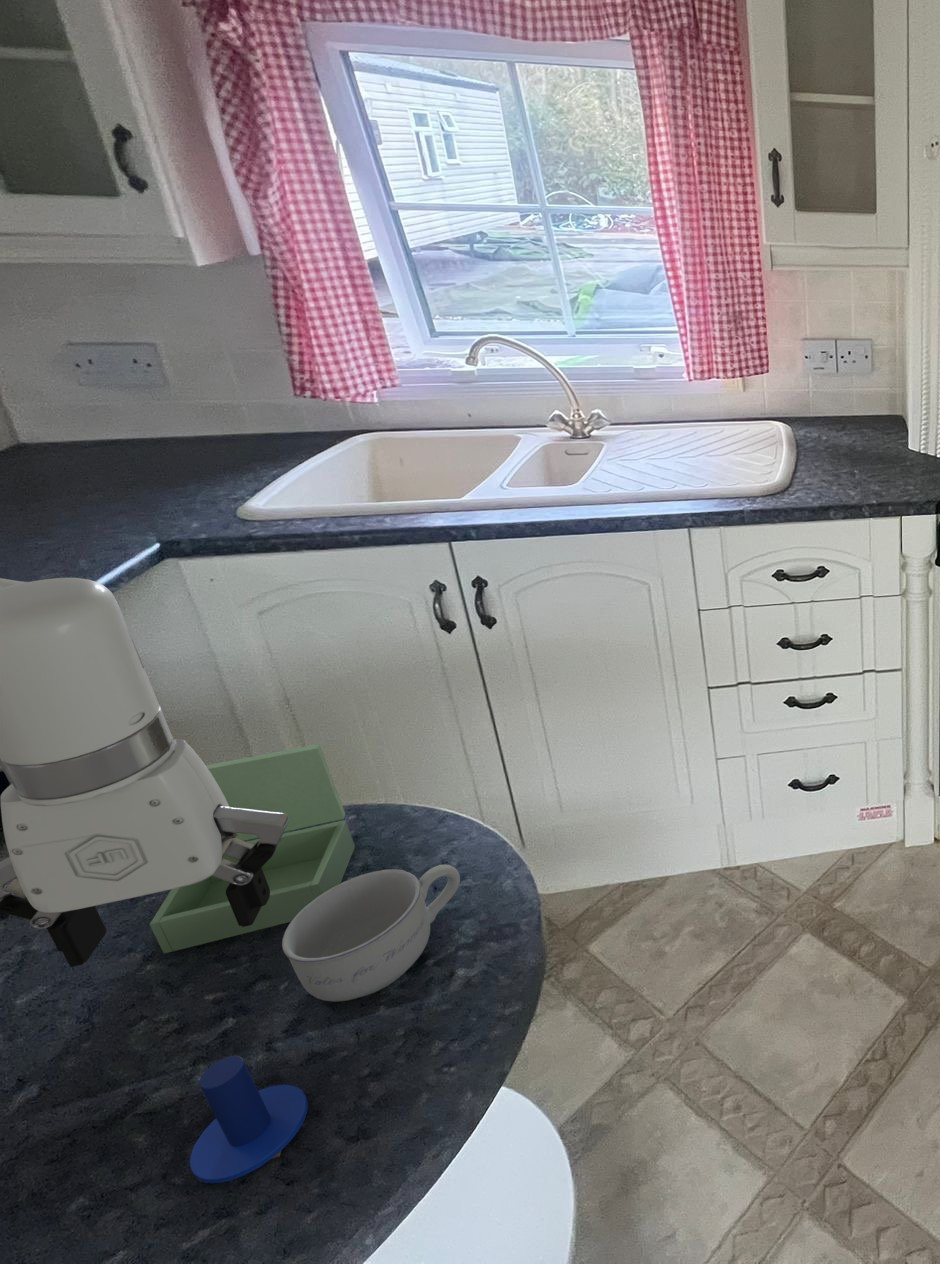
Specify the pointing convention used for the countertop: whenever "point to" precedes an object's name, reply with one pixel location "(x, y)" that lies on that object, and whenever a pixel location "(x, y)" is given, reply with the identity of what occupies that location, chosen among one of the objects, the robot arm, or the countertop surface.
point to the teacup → (364, 932)
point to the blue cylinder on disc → (243, 1122)
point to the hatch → (282, 786)
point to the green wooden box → (292, 877)
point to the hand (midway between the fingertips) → (174, 930)
